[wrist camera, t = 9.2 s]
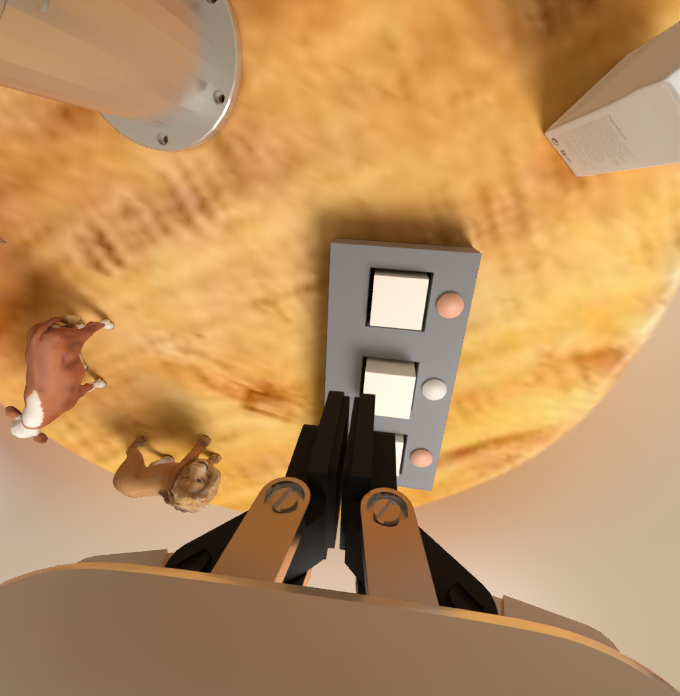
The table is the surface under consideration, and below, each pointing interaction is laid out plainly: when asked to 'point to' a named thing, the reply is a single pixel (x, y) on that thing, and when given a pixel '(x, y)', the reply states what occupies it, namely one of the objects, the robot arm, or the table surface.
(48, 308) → the table surface
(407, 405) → the middle button
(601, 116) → the skincare box
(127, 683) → the robot arm
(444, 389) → the button board
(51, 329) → the bull figurine
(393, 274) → the inner button
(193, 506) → the lion figurine
